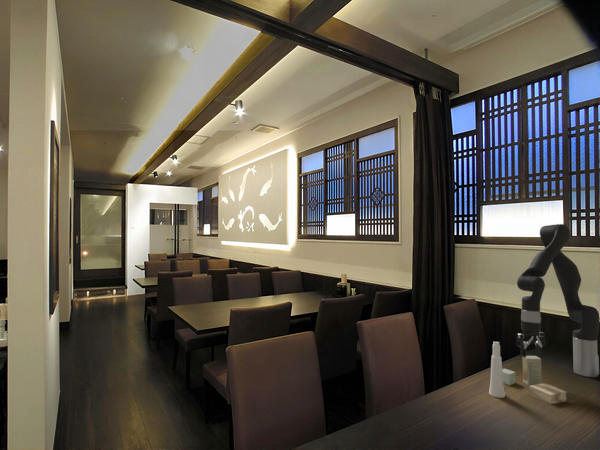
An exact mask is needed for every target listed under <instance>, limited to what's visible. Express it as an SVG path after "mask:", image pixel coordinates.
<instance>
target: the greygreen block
mask: <svg viewBox="0 0 600 450" xmlns="http://www.w3.org/2000/svg"><path fill="white" fill-rule="evenodd" d="M502 374H503V384H505V385H507V386H511V385H514V384H516V381H517V380H516V371H513V370H511V369H507V368H502Z"/></svg>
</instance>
